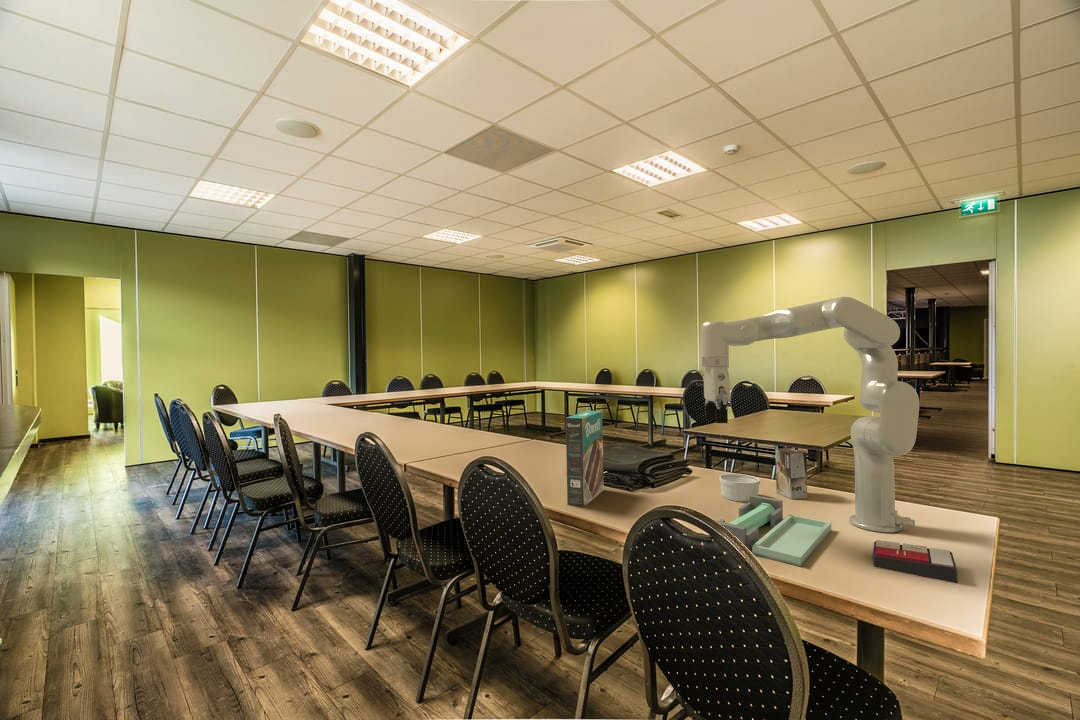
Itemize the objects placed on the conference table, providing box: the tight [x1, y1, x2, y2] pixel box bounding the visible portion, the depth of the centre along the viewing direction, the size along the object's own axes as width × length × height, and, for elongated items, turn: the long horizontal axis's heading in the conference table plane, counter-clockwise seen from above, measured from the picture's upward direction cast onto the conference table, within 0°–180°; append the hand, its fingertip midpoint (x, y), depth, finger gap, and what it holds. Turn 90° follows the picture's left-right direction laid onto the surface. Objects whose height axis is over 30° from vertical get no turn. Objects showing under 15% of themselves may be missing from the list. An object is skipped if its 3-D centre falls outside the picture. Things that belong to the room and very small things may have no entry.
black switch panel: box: [872, 539, 959, 584], centre depth 112 cm, size 11×4×15 cm
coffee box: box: [775, 447, 808, 500], centre depth 169 cm, size 9×6×16 cm
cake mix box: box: [565, 410, 605, 508], centre depth 172 cm, size 22×6×30 cm, turn 155°
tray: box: [751, 514, 832, 568], centre depth 128 cm, size 11×31×2 cm, turn 137°
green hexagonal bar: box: [728, 503, 775, 533], centre depth 136 cm, size 6×6×25 cm
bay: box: [715, 495, 784, 551], centre depth 136 cm, size 10×32×6 cm, turn 137°
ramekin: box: [719, 473, 761, 503], centre depth 168 cm, size 13×13×7 cm
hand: (716, 420), depth 141 cm, fingers open, 9 cm apart
